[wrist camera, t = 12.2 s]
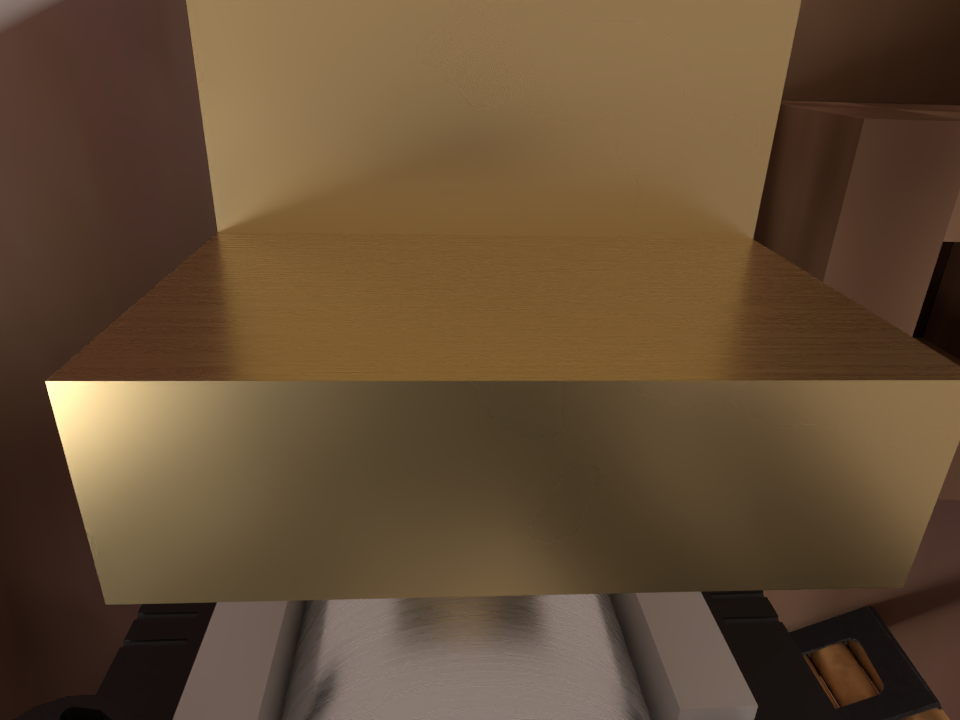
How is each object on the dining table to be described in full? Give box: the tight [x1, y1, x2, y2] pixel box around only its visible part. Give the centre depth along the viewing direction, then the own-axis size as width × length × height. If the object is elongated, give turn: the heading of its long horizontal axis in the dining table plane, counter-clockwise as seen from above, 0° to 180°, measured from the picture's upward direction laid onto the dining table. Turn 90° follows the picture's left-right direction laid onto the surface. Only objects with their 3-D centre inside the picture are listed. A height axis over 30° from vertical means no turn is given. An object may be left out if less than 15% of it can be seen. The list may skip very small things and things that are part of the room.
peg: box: [280, 594, 651, 720], centre depth 12 cm, size 4×4×14 cm
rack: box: [753, 100, 960, 500], centre depth 21 cm, size 11×11×6 cm
